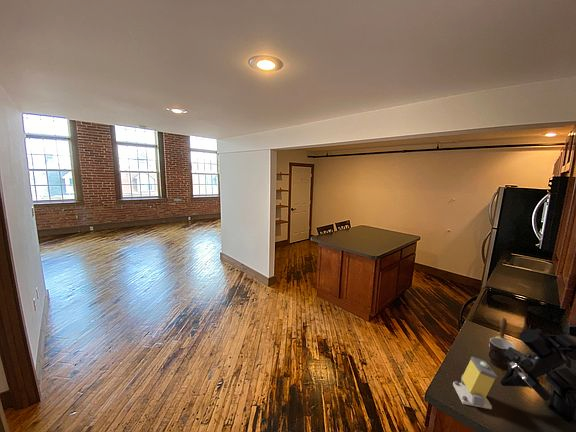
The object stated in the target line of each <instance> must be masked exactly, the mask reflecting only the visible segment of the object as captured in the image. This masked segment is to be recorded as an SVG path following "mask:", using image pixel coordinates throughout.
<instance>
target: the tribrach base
mask: <svg viewBox="0 0 576 432" xmlns="http://www.w3.org/2000/svg"><path fill="white" fill-rule="evenodd" d="M462 377H463V374H461V379H460V382H459V381H458V380H454V381H453V383H452V386H453V387H454V389H455V392H456V393H457V395H458V398H459V400H460V401H461V403H462V405H468V406H471V407H472V406H473V407H477V408H483V409H488V410H492V409H493V406H492V404H491V403H490V401H489V400H488V398H487V397H486V398H485V399H484V397H483V396H482V395H476V394H473V396H472V394H471V393H470V392H469V391H468V389H467V387H466V385H465V384H464V382H463V380H462Z"/></svg>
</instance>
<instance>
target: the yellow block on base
mask: <svg viewBox="0 0 576 432" xmlns="http://www.w3.org/2000/svg"><path fill="white" fill-rule="evenodd" d="M462 375H463V377H462V380H463V382H464V384H465V385H466V387H467V389H468V391H469V392H470V393H471V394H472V396H473V394H476V395H482V396H483V397H484V399H485V398H487V396H488V394H489V391H490V390H491V388H492V386H493V384H494V382H495V380H496V379H497V378H498V375H497V374H496V373H495V371H494V370H493V369H492V368H491V366H490V365H489V364H488V362H487V361H486V360H484V359H481V358H478V357H476V356H471V357H470V360H469V362H468V365H467V366H466V368H465V371H464V373H463V374H462Z"/></svg>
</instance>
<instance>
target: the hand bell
mask: <svg viewBox="0 0 576 432" xmlns="http://www.w3.org/2000/svg"><path fill="white" fill-rule="evenodd" d="M507 327H508V322H507V318H505V317H502V319H501V320H500V322H499V328H500V329H499V330H500V331H499V335H498V336H497V335H496V336H495V337H494V338H500V339H504V340H506V341H508V340H507V339H506V338H505V332H506V331H507ZM488 347H489V348H490V343H489V344H488Z"/></svg>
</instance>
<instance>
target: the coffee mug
mask: <svg viewBox="0 0 576 432" xmlns="http://www.w3.org/2000/svg"><path fill="white" fill-rule="evenodd" d="M506 340H507V339H506ZM506 340H504V339H500V338H495V337H491V338H489V344H490V347H489V352H488V357H489V359H490V360H489V361H490V364H491V365H493V366H494V367H495V368H497V369H500V370H503V371H504V370H505V371H508V364H507V362H508V363H511V362H510V361H509V360H508V359H507V358H506V357H504V355H503V354H502V353H501V352H500V351H501V350H503V349H508V348H509V347H512V348H514V349H516V346H515V345H514V344H513V343H512V342H510V341H509V340H507V341H506ZM516 350H517V349H516Z"/></svg>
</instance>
